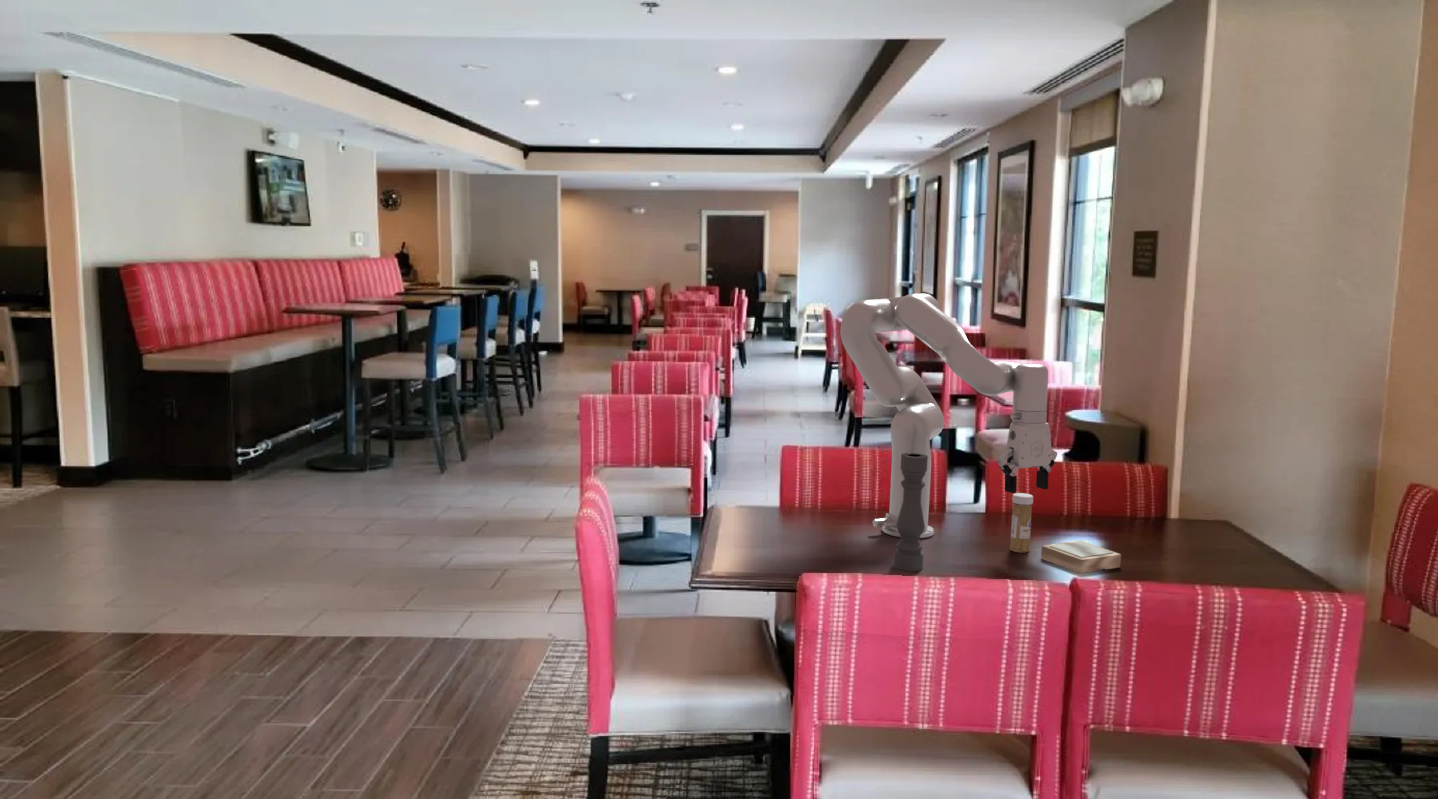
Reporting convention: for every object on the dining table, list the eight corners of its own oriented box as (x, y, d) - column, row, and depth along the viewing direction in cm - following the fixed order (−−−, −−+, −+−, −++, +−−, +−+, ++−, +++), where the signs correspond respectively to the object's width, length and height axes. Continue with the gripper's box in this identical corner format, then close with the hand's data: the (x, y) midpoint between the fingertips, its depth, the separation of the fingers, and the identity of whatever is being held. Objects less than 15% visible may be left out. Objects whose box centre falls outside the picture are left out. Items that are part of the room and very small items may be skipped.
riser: (1080, 573, 227) (1081, 559, 226) (1040, 558, 237) (1041, 544, 237) (1120, 567, 232) (1121, 553, 232) (1079, 553, 243) (1080, 539, 242)
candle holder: (891, 563, 231) (896, 452, 227) (918, 563, 231) (924, 452, 228) (898, 571, 225) (904, 458, 221) (926, 571, 225) (932, 458, 222)
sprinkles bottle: (1028, 554, 241) (1032, 497, 239) (1008, 551, 242) (1012, 495, 240) (1030, 549, 245) (1034, 493, 243) (1010, 546, 247) (1014, 491, 245)
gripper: (1012, 421, 232) (1009, 496, 234) (1069, 417, 240) (1065, 489, 242) (989, 417, 239) (986, 490, 241) (1045, 413, 246) (1042, 484, 249)
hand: (1026, 490), depth 241 cm, fingers open, 9 cm apart
